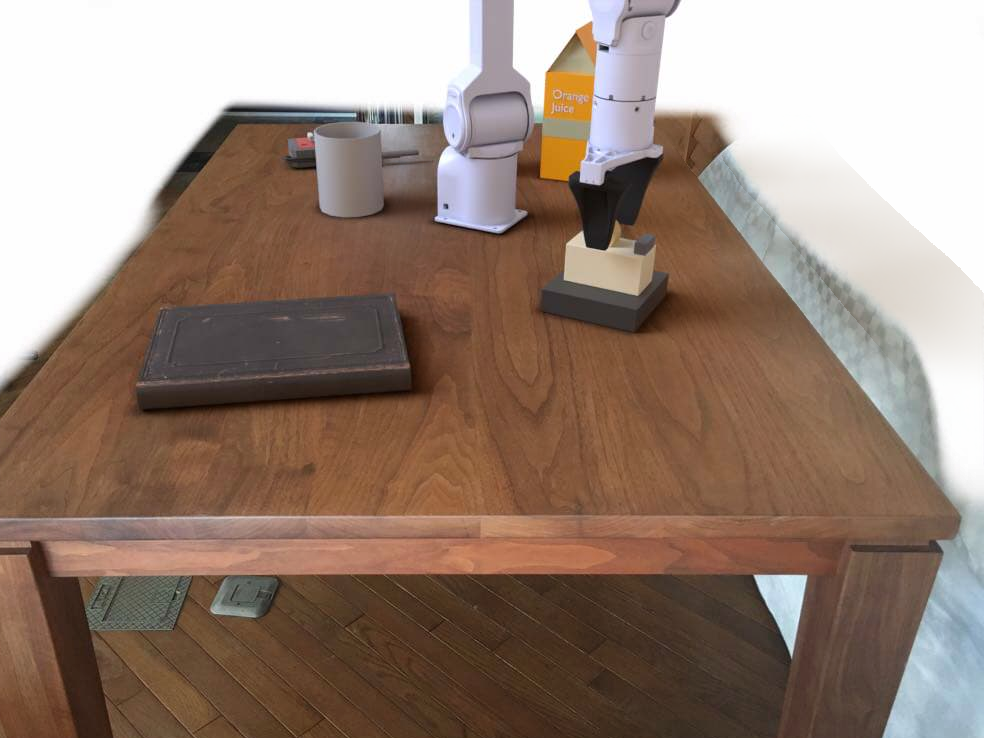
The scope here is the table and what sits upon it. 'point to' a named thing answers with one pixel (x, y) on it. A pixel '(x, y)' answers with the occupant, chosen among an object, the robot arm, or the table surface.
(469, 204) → the robot arm
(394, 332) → the hardcover book
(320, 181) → the cup
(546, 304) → the black box
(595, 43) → the orange juice
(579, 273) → the tape dispenser
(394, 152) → the walkie-talkie
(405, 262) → the table surface
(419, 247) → the table surface
